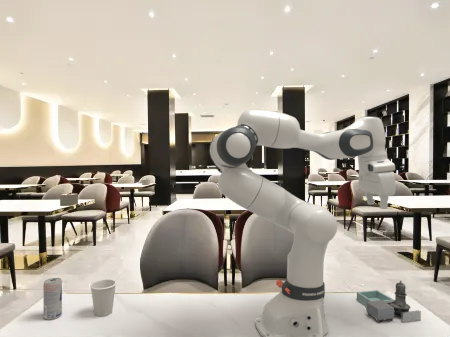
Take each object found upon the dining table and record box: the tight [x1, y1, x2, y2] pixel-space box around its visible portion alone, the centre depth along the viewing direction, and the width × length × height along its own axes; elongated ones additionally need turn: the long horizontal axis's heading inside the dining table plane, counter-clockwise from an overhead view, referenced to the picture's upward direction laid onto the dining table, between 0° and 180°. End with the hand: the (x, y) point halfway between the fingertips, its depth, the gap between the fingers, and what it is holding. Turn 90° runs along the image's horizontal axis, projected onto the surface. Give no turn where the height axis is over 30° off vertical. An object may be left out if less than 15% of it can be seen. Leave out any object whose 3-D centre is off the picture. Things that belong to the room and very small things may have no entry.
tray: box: [356, 289, 395, 308], centre depth 114 cm, size 9×9×3 cm
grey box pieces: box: [366, 300, 422, 324], centre depth 105 cm, size 15×9×4 cm, turn 103°
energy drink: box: [42, 277, 63, 321], centre depth 104 cm, size 5×5×12 cm
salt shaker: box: [391, 279, 411, 320], centre depth 105 cm, size 6×6×12 cm
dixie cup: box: [89, 279, 117, 318], centre depth 106 cm, size 8×8×10 cm
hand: (377, 206), depth 104 cm, fingers open, 8 cm apart
